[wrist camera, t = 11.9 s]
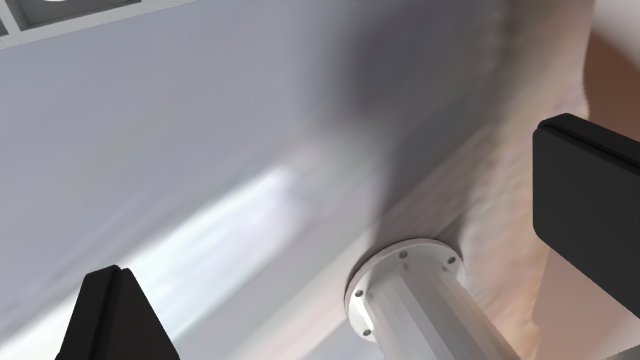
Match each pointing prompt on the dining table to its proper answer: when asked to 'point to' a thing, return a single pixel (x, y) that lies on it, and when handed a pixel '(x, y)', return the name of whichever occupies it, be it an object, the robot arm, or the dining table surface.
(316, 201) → the dining table surface
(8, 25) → the egg tray
